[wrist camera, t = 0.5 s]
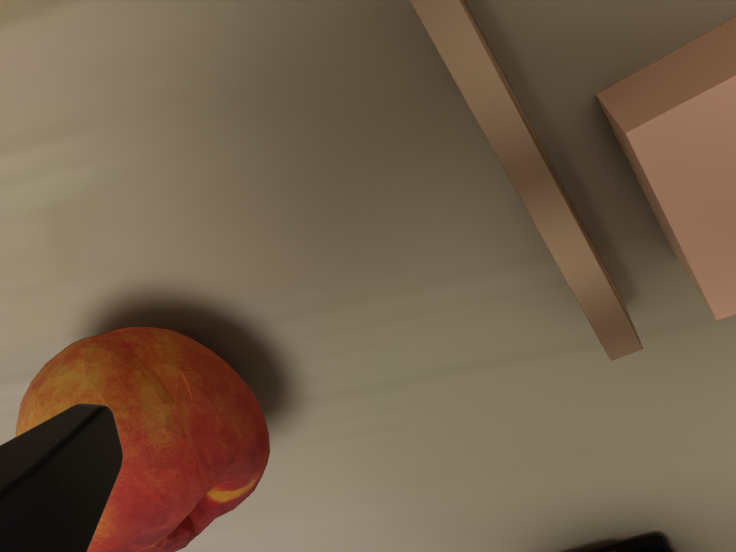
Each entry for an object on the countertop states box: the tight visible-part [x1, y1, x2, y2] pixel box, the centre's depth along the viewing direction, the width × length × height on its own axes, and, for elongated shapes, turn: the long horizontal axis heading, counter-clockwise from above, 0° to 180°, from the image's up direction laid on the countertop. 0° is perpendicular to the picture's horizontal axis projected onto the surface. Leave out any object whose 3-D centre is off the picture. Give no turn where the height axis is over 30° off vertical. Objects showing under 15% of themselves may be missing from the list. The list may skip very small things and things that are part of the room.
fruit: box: [16, 327, 270, 552], centre depth 22 cm, size 8×8×8 cm
